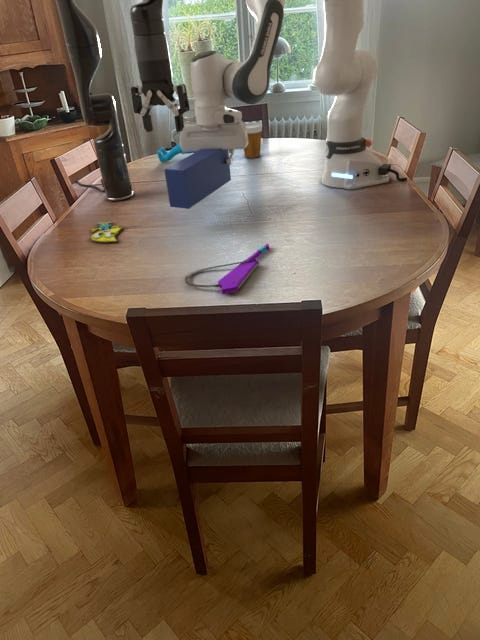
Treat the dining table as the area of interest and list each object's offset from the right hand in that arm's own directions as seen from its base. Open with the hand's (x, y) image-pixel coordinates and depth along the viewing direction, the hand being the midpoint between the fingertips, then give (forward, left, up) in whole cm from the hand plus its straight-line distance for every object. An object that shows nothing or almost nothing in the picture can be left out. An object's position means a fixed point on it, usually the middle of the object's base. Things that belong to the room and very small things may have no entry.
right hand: (216, 164), depth 145 cm
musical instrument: (+3, +45, -13) cm, 47 cm away
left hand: (+14, +20, +15) cm, 29 cm away
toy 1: (+35, +10, -13) cm, 39 cm away
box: (+6, +8, -5) cm, 11 cm away
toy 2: (+4, -62, -13) cm, 64 cm away
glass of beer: (-20, -57, -13) cm, 62 cm away
